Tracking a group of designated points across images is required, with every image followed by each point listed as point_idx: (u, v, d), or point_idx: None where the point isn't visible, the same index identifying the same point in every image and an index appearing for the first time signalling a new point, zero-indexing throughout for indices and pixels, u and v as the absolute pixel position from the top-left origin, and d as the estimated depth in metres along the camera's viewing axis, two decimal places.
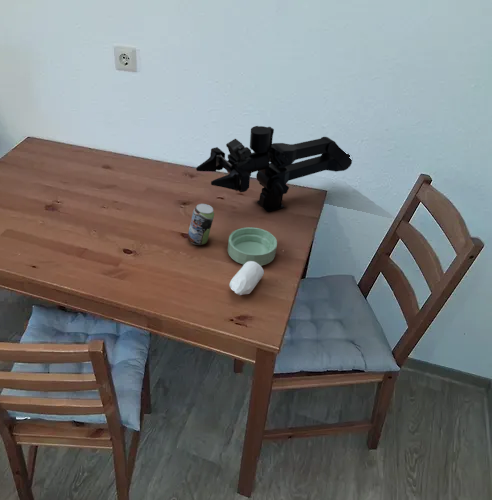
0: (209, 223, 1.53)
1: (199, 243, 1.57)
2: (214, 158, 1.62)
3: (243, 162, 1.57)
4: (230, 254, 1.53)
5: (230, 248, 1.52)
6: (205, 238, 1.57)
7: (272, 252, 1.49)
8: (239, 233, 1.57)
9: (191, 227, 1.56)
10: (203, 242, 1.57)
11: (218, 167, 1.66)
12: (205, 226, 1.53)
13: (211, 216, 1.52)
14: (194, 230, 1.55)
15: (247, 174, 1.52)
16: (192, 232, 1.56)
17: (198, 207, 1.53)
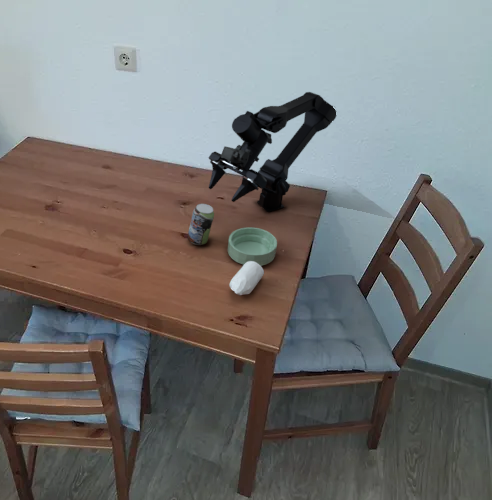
0: (209, 223, 1.53)
1: (199, 243, 1.57)
2: (217, 167, 1.57)
3: (246, 160, 1.51)
4: (230, 254, 1.53)
5: (230, 248, 1.52)
6: (205, 238, 1.57)
7: (272, 252, 1.49)
8: (239, 233, 1.57)
9: (191, 227, 1.56)
10: (203, 242, 1.57)
11: None
12: (205, 226, 1.53)
13: (211, 216, 1.52)
14: (194, 230, 1.55)
15: (258, 176, 1.47)
16: (192, 232, 1.56)
17: (198, 207, 1.53)
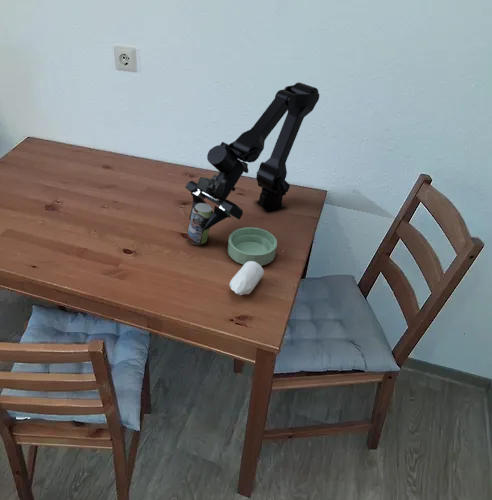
0: None
1: (199, 242, 1.57)
2: (198, 199, 1.56)
3: (222, 191, 1.50)
4: (230, 254, 1.53)
5: (230, 248, 1.52)
6: (204, 237, 1.57)
7: (272, 252, 1.49)
8: (239, 233, 1.57)
9: (190, 226, 1.56)
10: (202, 241, 1.57)
11: None
12: (204, 225, 1.53)
13: (210, 215, 1.52)
14: (193, 229, 1.55)
15: (234, 207, 1.47)
16: (192, 231, 1.56)
17: (197, 206, 1.53)
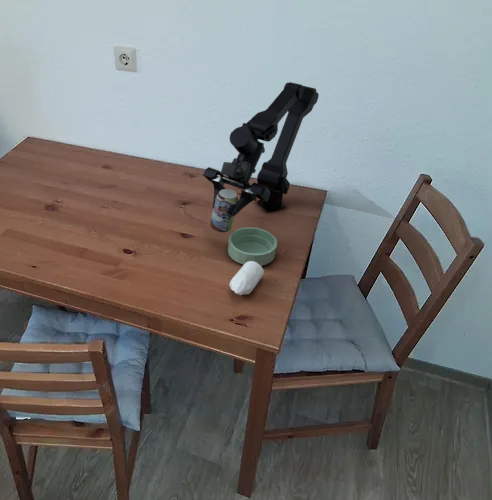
0: None
1: (225, 230, 1.50)
2: (219, 185, 1.49)
3: None
4: (230, 254, 1.53)
5: (230, 248, 1.52)
6: (230, 224, 1.50)
7: (272, 252, 1.49)
8: (239, 233, 1.57)
9: (215, 215, 1.49)
10: (229, 229, 1.51)
11: None
12: (231, 211, 1.47)
13: (236, 200, 1.46)
14: (220, 217, 1.48)
15: (264, 189, 1.42)
16: (218, 220, 1.49)
17: (221, 193, 1.46)
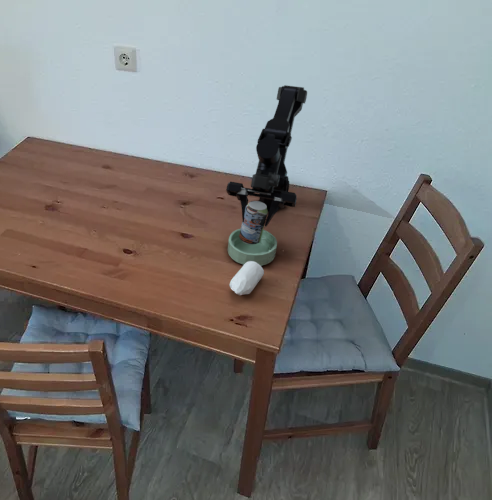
0: (265, 218, 1.47)
1: (257, 241, 1.50)
2: (246, 198, 1.48)
3: None
4: (230, 254, 1.53)
5: (230, 248, 1.52)
6: (261, 235, 1.50)
7: (272, 252, 1.49)
8: (239, 233, 1.57)
9: (247, 228, 1.48)
10: None
11: None
12: (263, 222, 1.47)
13: (267, 211, 1.46)
14: (252, 230, 1.47)
15: (295, 196, 1.43)
16: (250, 233, 1.48)
17: (252, 206, 1.46)
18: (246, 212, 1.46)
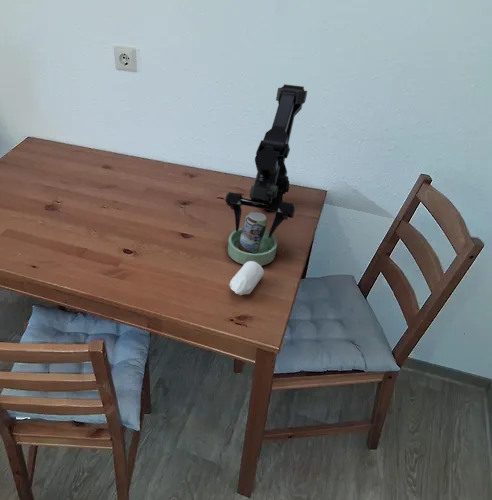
0: (264, 230, 1.49)
1: (256, 252, 1.52)
2: (239, 208, 1.50)
3: None
4: (230, 254, 1.53)
5: (230, 248, 1.52)
6: None
7: (272, 252, 1.49)
8: (239, 233, 1.57)
9: (246, 239, 1.50)
10: (258, 250, 1.53)
11: None
12: (262, 233, 1.49)
13: (266, 222, 1.48)
14: (251, 240, 1.49)
15: (293, 207, 1.45)
16: (249, 243, 1.50)
17: (251, 217, 1.48)
18: (246, 223, 1.49)
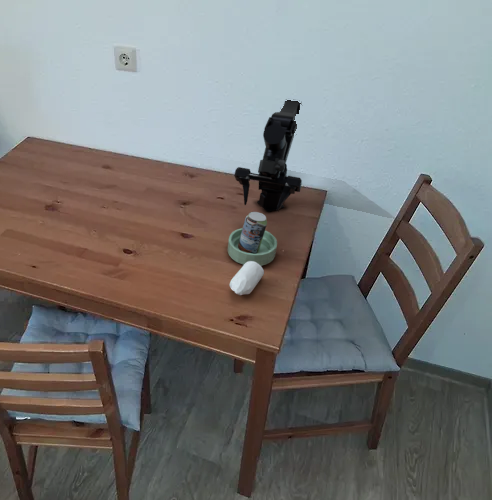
0: (264, 230, 1.49)
1: (256, 252, 1.52)
2: (248, 182, 1.55)
3: None
4: (230, 254, 1.53)
5: (230, 248, 1.52)
6: None
7: (272, 252, 1.49)
8: (239, 233, 1.57)
9: (246, 239, 1.50)
10: (258, 250, 1.53)
11: None
12: (262, 233, 1.49)
13: (266, 222, 1.48)
14: (251, 240, 1.49)
15: (300, 181, 1.50)
16: (249, 243, 1.50)
17: (251, 217, 1.48)
18: (246, 223, 1.49)
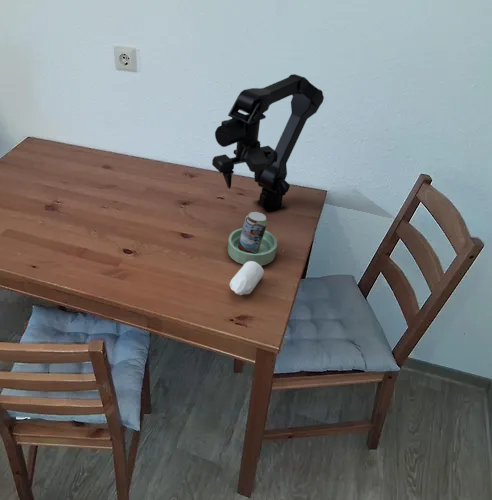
0: (264, 230, 1.49)
1: (256, 252, 1.52)
2: None
3: None
4: (230, 254, 1.53)
5: (230, 248, 1.52)
6: None
7: (272, 252, 1.49)
8: (239, 233, 1.57)
9: (246, 239, 1.50)
10: (258, 250, 1.53)
11: None
12: (262, 233, 1.49)
13: (266, 222, 1.48)
14: (251, 240, 1.49)
15: (277, 155, 1.56)
16: (249, 243, 1.50)
17: (251, 217, 1.48)
18: (246, 223, 1.49)
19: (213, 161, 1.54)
